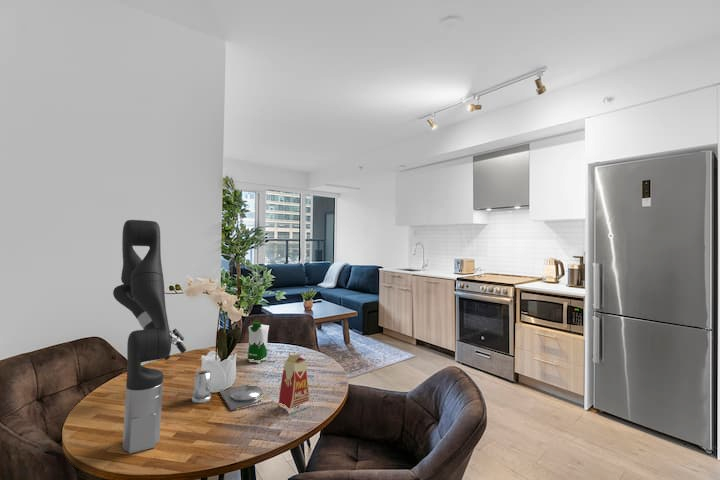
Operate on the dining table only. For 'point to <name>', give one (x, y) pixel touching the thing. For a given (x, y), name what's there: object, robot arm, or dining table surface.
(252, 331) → the soya milk
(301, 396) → the milk carton
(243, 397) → the plate on grey tray
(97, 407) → the dining table surface
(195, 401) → the hub
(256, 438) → the dining table surface
